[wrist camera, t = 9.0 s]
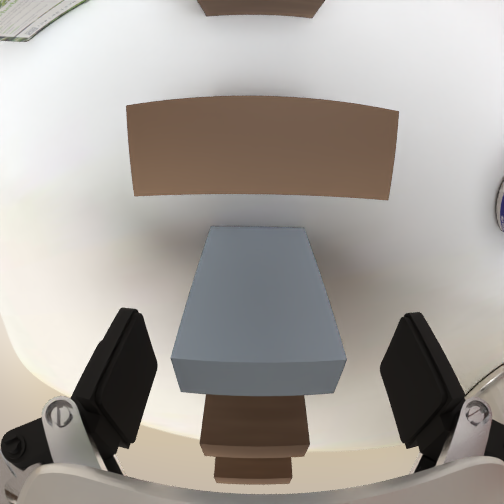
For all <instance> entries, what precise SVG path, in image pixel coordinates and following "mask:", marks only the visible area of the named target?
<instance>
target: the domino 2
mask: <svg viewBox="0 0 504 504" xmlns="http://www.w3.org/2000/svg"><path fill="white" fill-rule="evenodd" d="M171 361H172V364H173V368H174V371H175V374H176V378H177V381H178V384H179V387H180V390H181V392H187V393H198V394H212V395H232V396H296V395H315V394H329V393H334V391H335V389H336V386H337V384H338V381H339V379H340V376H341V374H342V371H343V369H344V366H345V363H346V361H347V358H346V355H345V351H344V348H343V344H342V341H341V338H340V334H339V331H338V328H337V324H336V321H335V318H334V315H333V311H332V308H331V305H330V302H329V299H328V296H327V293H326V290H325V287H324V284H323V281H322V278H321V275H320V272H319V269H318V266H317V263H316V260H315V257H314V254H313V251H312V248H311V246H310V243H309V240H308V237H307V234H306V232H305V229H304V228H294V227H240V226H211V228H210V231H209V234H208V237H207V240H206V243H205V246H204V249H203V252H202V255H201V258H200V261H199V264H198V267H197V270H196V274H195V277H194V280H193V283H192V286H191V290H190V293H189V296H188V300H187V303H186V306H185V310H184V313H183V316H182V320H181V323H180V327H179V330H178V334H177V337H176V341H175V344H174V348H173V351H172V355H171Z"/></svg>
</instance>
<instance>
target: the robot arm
mask: <svg viewBox="0 0 504 504" xmlns="http://www.w3.org/2000/svg"><path fill="white" fill-rule="evenodd" d="M156 371H157V360H156V357H155V354H154V351H153V348H152V345H151V342H150V338H149V335H148V332H147V329H146V325H145V322H144V318H143V315H142V314H141V313H139V312H138V310H137V309H131V308H121V309H120V310H119V312H118V313H117V315H116V317H115V319H114V320H113V322H112V324H111V326H110V327H109V329H108V331H107V333H106V335H105V336H104V338H103V340H102V341H100V343H99V344H98V346H97V347H96V349H95V351H94V353H93V355H92V357H91V359H90V360H89V362H88V364H87V366H86V368H85V370H84V372H83V374H82V376H81V378H80V380H79V382H78V384H77V386H76V388H75V390H74V392H73V394H72V396H71V399H70V398H68V397H65V396H58V397H54V398H53V399H51V400H49V401H48V402H47V403H46V404H45V406H44V408H43V411H42V417H41V418H39V419H37V420H34V421H32V422H29V423H27V424H25V425H22V426H20V427H17V428H15V429H12V430H10V431H8V432H7V433H6V434H5V435H4V436H3V439H2V441H1V449H0V504H504V365H502V366H501V367H499V368H498V369H497V370H495V371H494V372H492V373H491V374H490V375H489V376H487V377H486V378H485V379H484V380H482V381H481V382H480V383H479V384H478V385H477V386H476V387H475V388H473V389H472V390H471V391H470V392H469V393H468V394H467V396H466V397H465V393H464V391H463V389H462V387H461V385H460V383H459V381H458V379H457V377H456V375H455V373H454V371H453V369H452V367H451V365H450V363H449V361H448V359H447V357H446V355H445V353H444V352H443V350H442V348H441V346H440V344H439V342H438V341H437V339H436V337H435V335H434V334H433V332H432V330H431V328H430V327H429V325H428V323H427V322H426V320H425V318H424V316H423V315H422V314H421V313H420V312H415V313H406V314H405V315H404V317H402V318H401V319H400V321H399V323H398V326H397V328H396V331H395V333H394V336H393V338H392V340H391V343H390V345H389V347H388V349H387V352H386V354H385V356H384V358H383V360H382V362H381V365H380V373H381V376H382V379H383V382H384V385H385V388H386V391H387V394H388V398H389V401H390V404H391V407H392V411H393V414H394V418H395V421H396V424H397V428H398V432H399V435H400V439H401V441H402V443H405V445H406V448H407V449H408V448H412V447H416V446H419V450H420V452H419V455H418V457H417V459H416V461H415V463H414V465H413V467H412V469H411V471H410V473H409V475H405V476H402V477H398V478H394V479H390V480H386V481H382V482H377V483H373V484H368V485H363V486H357V487H351V488H345V489H338V490H330V491H321V492H311V493H298V494H267V495H265V494H233V493H219V492H210V491H200V490H193V489H186V488H180V487H174V486H168V485H163V484H158V483H153V482H149V481H144V480H139V479H135V478H131V477H128V476H127V475H126V473H125V471H124V469H123V467H122V465H121V463H120V461H119V459H118V458H117V456H116V452H117V449H118V446H119V447H123V448H127V449H129V446H130V443H134V442H135V440H136V436H137V433H138V429H139V426H140V423H141V419H142V416H143V413H144V409H145V406H146V403H147V400H148V396H149V393H150V390H151V387H152V384H153V381H154V378H155V375H156ZM464 397H465V398H464Z"/></svg>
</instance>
